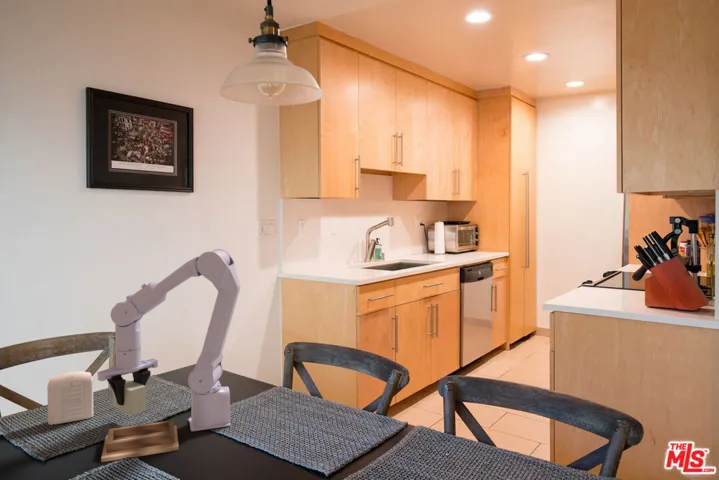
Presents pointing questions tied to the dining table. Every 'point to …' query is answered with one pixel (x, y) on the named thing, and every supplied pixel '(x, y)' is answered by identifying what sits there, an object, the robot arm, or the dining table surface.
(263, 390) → the dining table surface
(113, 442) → the slot board
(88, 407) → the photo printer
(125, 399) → the beige block
